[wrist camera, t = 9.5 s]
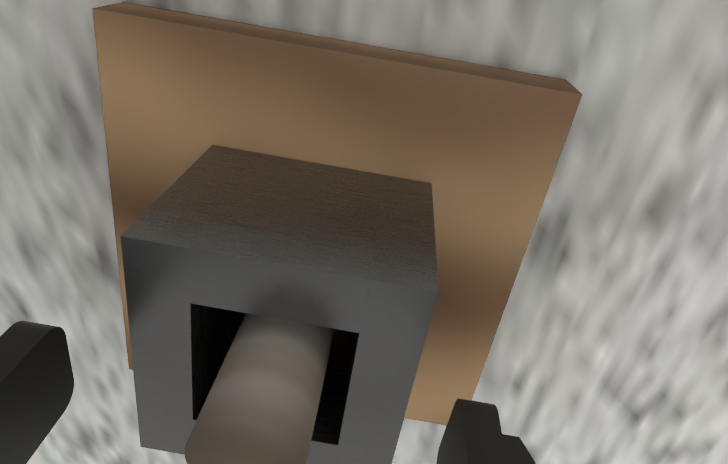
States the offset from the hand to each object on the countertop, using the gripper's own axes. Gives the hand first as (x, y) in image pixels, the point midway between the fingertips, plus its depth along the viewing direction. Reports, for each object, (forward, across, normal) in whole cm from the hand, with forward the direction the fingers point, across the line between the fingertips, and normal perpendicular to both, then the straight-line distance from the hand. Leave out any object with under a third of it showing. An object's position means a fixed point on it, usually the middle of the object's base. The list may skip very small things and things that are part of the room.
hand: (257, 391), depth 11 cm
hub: (+6, 0, 0) cm, 6 cm away
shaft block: (+7, 0, 0) cm, 7 cm away
